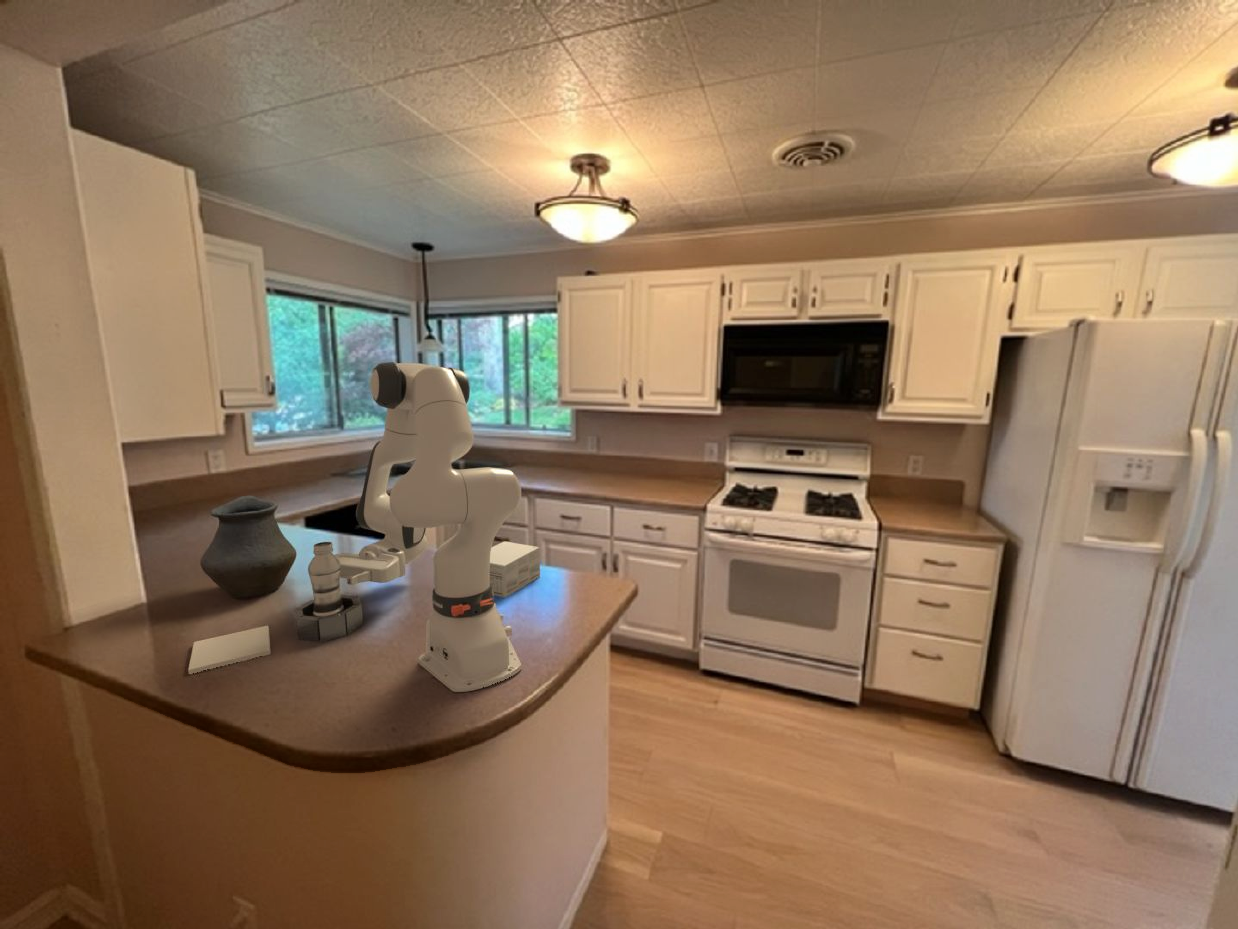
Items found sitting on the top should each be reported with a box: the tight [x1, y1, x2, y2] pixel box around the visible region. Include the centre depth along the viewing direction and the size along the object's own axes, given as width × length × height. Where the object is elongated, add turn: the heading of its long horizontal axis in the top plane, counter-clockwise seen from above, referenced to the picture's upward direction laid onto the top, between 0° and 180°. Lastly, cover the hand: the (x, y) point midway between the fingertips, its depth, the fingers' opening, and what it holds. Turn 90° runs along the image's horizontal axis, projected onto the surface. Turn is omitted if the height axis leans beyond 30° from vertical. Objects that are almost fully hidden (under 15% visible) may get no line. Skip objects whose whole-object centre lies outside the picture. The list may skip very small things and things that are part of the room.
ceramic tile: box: [187, 625, 272, 675], centre depth 105 cm, size 13×13×1 cm
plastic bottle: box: [307, 541, 345, 617], centre depth 114 cm, size 6×7×20 cm
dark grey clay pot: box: [199, 495, 297, 600], centre depth 134 cm, size 21×22×25 cm
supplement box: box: [490, 541, 541, 599], centre depth 143 cm, size 17×13×9 cm
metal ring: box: [293, 594, 364, 643], centre depth 116 cm, size 13×13×5 cm
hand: (333, 579), depth 116 cm, fingers open, 8 cm apart
